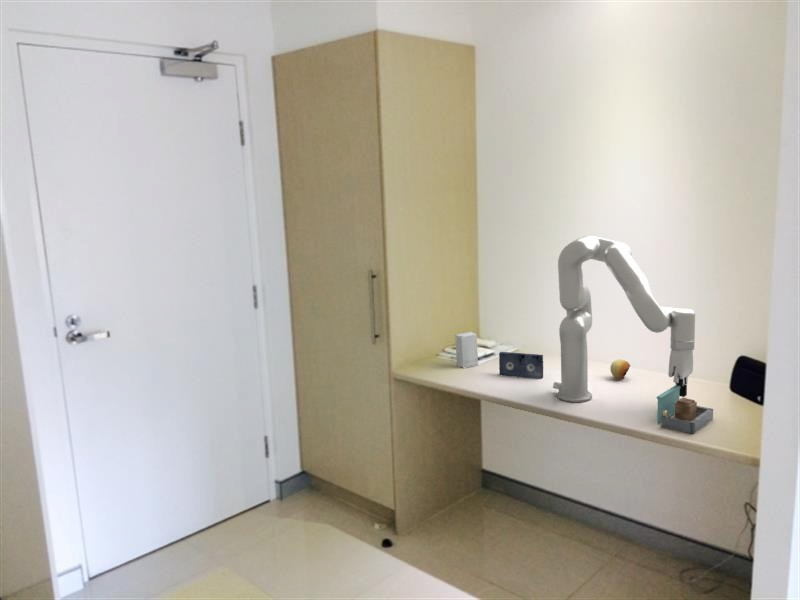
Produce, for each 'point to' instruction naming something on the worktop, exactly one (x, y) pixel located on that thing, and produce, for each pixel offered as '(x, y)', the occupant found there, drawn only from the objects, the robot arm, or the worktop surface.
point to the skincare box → (466, 349)
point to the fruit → (619, 368)
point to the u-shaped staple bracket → (692, 426)
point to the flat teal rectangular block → (667, 402)
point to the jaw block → (685, 409)
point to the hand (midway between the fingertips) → (681, 395)
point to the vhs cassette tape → (521, 365)
